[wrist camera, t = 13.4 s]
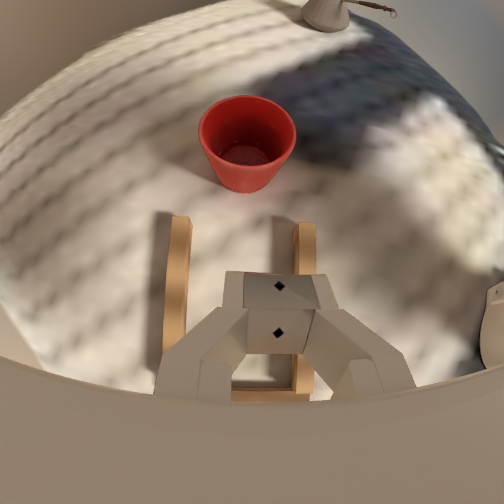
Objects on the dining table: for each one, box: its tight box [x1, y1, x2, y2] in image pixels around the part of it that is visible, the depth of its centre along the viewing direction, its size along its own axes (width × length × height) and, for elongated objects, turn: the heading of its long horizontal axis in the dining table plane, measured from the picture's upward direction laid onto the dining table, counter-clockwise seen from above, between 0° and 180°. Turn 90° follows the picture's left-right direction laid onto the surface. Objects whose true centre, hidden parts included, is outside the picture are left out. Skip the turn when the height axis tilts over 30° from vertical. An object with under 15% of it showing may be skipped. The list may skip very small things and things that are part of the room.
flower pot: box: [198, 95, 296, 193], centre depth 35 cm, size 11×11×10 cm
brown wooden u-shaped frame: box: [162, 216, 316, 403], centre depth 33 cm, size 22×17×4 cm
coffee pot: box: [301, 0, 397, 33], centre depth 43 cm, size 21×12×15 cm, turn 37°
